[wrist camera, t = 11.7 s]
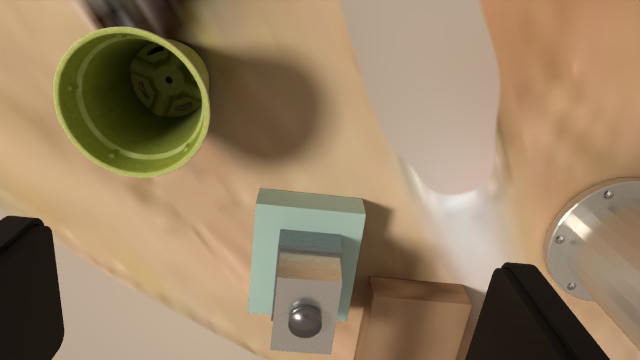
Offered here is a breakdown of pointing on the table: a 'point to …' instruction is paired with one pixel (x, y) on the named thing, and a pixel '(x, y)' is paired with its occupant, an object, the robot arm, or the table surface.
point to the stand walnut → (412, 320)
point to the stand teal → (304, 216)
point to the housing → (306, 291)
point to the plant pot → (132, 101)
